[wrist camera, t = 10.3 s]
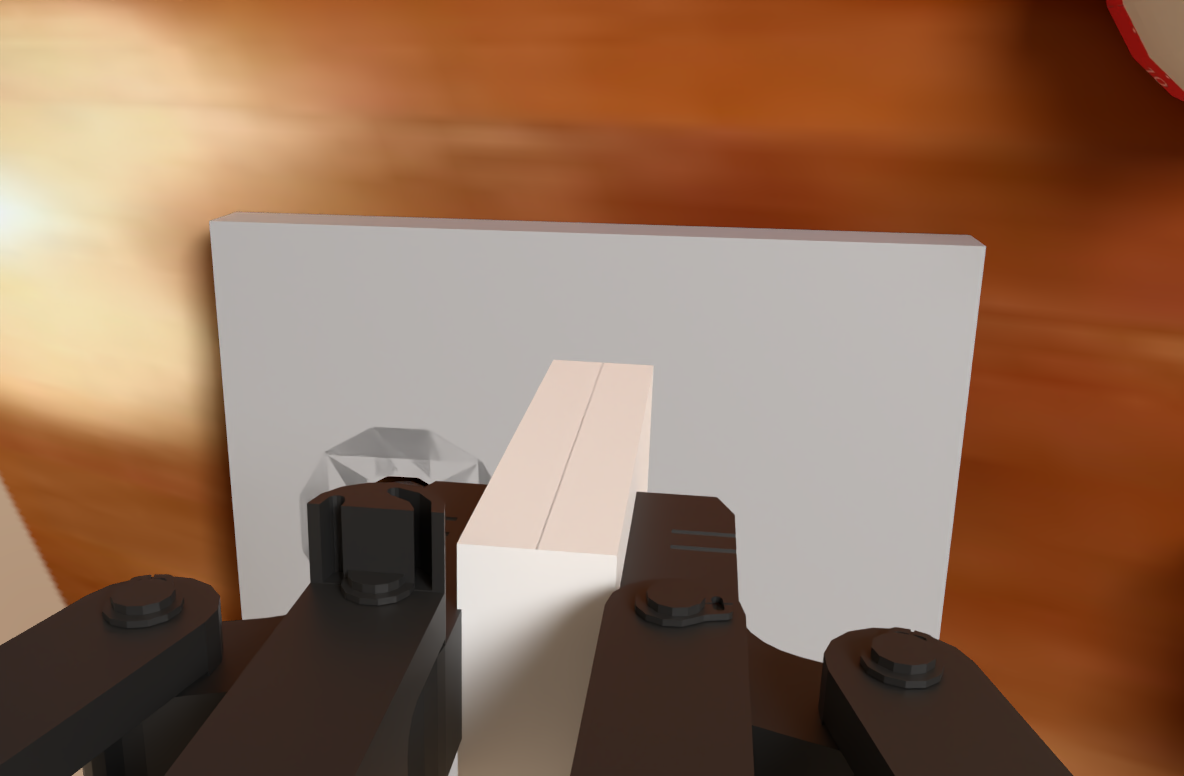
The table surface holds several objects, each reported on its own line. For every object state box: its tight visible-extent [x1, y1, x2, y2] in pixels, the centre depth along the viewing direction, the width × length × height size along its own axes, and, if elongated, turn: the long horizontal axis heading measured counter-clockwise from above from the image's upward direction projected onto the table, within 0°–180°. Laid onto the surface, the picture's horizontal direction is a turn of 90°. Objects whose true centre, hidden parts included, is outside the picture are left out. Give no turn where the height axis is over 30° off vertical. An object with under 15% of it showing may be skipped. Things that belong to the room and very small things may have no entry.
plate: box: [209, 212, 986, 776], centre depth 45 cm, size 28×24×2 cm
